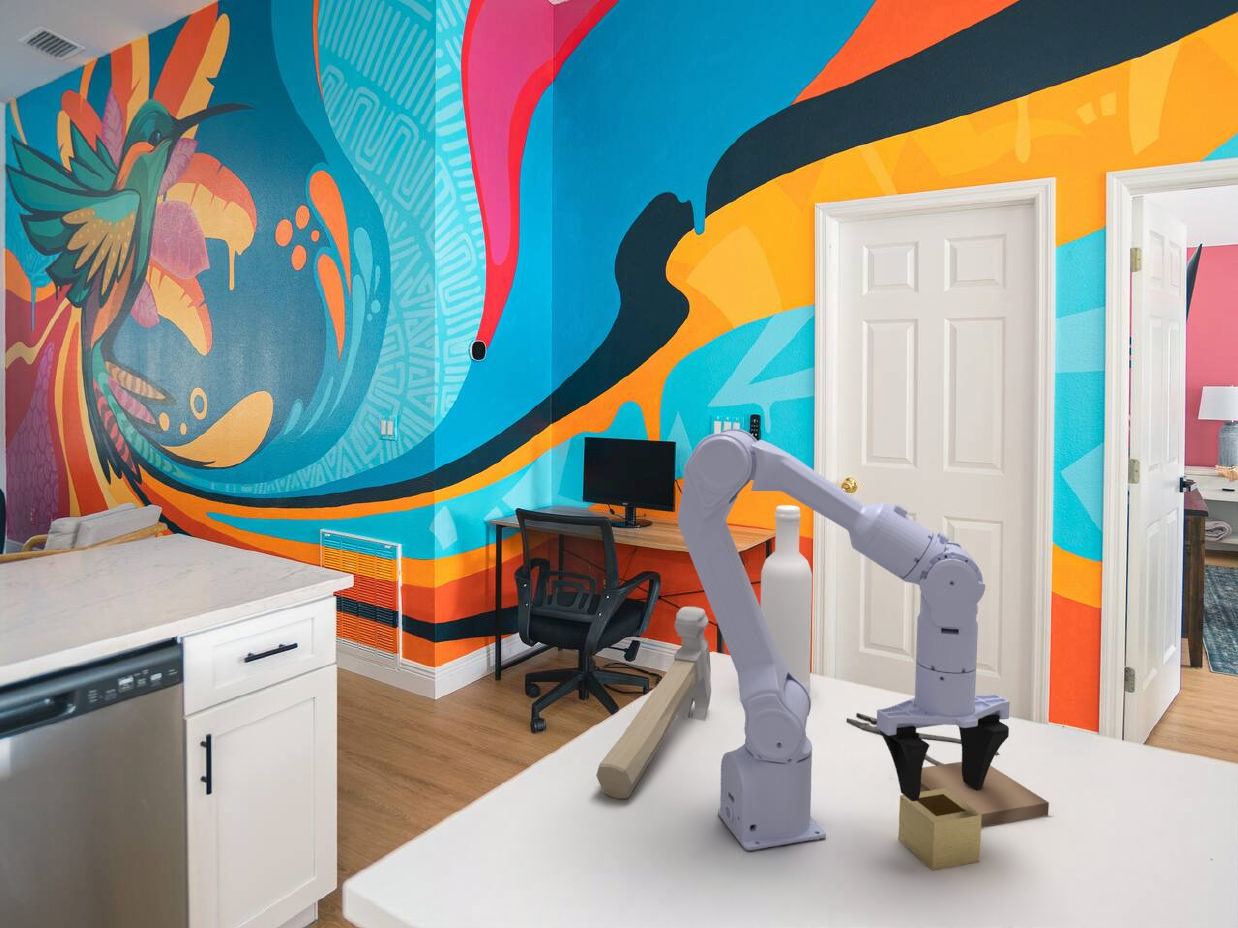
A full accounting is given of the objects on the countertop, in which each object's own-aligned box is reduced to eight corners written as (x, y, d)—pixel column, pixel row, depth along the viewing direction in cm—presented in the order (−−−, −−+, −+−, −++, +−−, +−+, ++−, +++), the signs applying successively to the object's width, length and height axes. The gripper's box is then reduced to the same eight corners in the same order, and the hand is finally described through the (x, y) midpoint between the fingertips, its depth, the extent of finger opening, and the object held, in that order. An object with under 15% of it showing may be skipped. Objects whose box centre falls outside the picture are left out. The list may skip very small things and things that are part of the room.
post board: (966, 829, 87) (968, 777, 86) (904, 781, 98) (905, 734, 97) (1048, 814, 90) (1051, 764, 89) (979, 770, 101) (981, 724, 100)
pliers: (985, 777, 98) (829, 734, 110) (984, 783, 98) (828, 740, 110) (1001, 748, 106) (854, 711, 118) (1001, 754, 106) (853, 717, 118)
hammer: (625, 730, 90) (710, 607, 115) (588, 723, 92) (680, 603, 117) (637, 843, 94) (717, 700, 120) (602, 833, 96) (688, 695, 122)
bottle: (800, 710, 119) (804, 512, 116) (750, 699, 123) (753, 508, 120) (816, 693, 126) (821, 505, 123) (769, 683, 130) (772, 501, 127)
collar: (932, 870, 80) (934, 822, 79) (898, 839, 85) (900, 795, 85) (979, 861, 81) (981, 814, 81) (943, 831, 87) (944, 787, 86)
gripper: (908, 685, 75) (904, 821, 77) (1034, 669, 79) (1028, 799, 81) (866, 660, 82) (863, 786, 84) (984, 647, 86) (979, 767, 87)
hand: (941, 790), depth 83 cm, fingers open, 7 cm apart
